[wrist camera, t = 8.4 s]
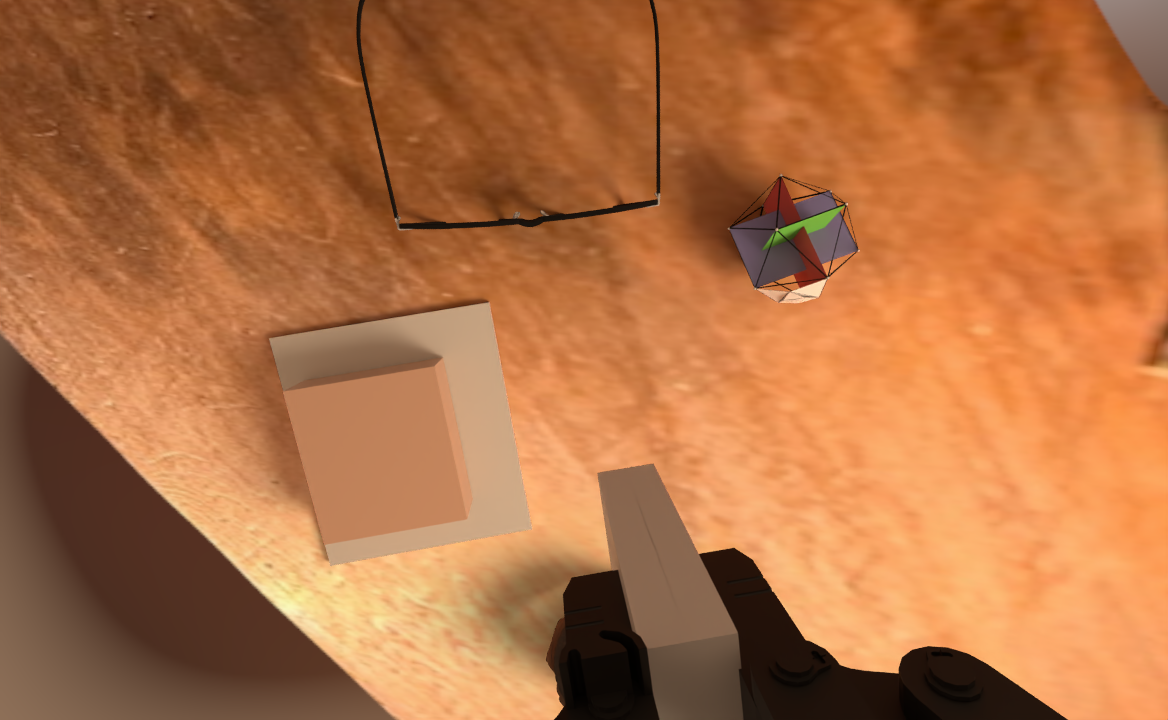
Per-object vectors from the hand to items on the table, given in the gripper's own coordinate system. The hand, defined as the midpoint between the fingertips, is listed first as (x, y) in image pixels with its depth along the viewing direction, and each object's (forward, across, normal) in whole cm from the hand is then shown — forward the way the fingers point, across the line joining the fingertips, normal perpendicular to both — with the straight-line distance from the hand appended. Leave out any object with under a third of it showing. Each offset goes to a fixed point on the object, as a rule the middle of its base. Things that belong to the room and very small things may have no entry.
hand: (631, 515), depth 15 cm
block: (+21, -9, -4) cm, 23 cm away
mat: (+23, -12, -4) cm, 26 cm away
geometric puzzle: (+24, +14, +5) cm, 28 cm away
